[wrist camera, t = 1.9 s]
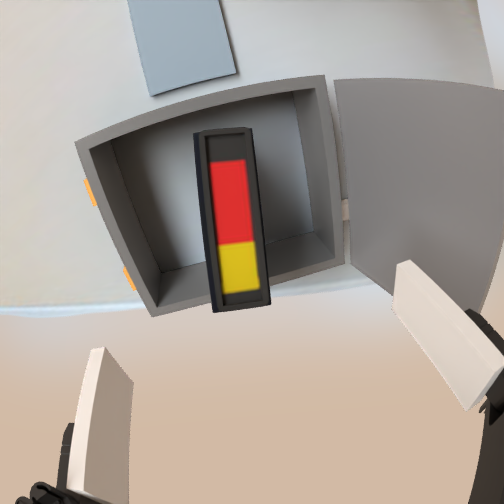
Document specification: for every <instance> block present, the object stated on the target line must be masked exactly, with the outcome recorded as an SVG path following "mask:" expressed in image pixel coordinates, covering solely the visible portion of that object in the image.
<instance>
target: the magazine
mask: <svg viewBox="0 0 504 504" xmlns="http://www.w3.org/2000/svg"><path fill="white" fill-rule="evenodd" d="M193 139H194V152H195V164H196V175H197V186H198V196H199V206H200V216H201V225H202V234H203V242H204V251H205V259H206V267H207V274H208V282H209V289H210V296H211V303H212V310H213V313H217V312H227V311H234V310H241V309H248V308H254V307H262V306H267V305H271V296H270V286H269V276H268V266H267V257H266V247H265V238H264V229H263V220H262V211H261V202H260V193H259V184H258V175H257V167H256V158H255V150H254V141H253V133H252V128H245V127H239V128H225V129H214V130H204V131H202V132H198V133H193Z"/></svg>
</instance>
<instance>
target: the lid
mask: <svg viewBox="0 0 504 504" xmlns="http://www.w3.org/2000/svg"><path fill="white" fill-rule="evenodd" d="M333 81H334V86H335V92H336V98H337V105H338V111H339V118H340V126H341V133H342V141H343V150H344V159H345V169H346V180H347V193H348V208H349V226H350V255H351V265H353V266H354V267H355V268H357V269H358V270H359V271H361V272H362V273H363V274H365V275H366V276H367V277H369V278H370V279H371V280H373V281H374V282H375V283H377V284H378V285H379V286H380V287H382V288H383V289H384V290H386V291H387V292H388V293H390V294H391V295H392V296H393V295H394V287H395V278H396V267H397V264H399V263H402V262H404V261H407V260H411V261H412V262H413V263H414V264H416V265H417V266H418V267H419V268H420V269H421V270H422V271H423V272H424V273H425V274H426V275H427V276H428V277H429V278H431V279H432V280H433V281H434V282H435V283H436V284H437V285H438V286H439V287H440V288H441V289H442V290H443V291H444V292H445V293H446V294H447V295H448V296H449V297H450V298H451V299H452V300H453V301H454V302H455V303H456V304H457V305H458V306H459V307H460V308H461V309H462V310H463V311H466V310H467V309H469V308H470V309H472V310H473V311H475V312H477V313H479V314H480V313H481V310H482V307H483V305H484V302H485V299H486V297H487V294H488V291H489V288H490V285H491V282H492V279H493V275H494V272H495V269H496V265H497V262H498V259H499V255H500V251H501V247H502V243H503V239H504V90H498V89H494V88H489V87H483V86H477V85H470V84H463V83H455V82H446V81H436V80H423V79H402V78H360V79H339V80H333Z"/></svg>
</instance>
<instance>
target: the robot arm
mask: <svg viewBox="0 0 504 504" xmlns="http://www.w3.org/2000/svg"><path fill="white" fill-rule="evenodd" d="M392 311H393V312H394V313H395V315H396V316H397V317H398V318H399V319H400V321H401V322H402V323H403V325H404V326H405V327H406V329H407V330H408V331H409V332H410V334H411V335H412V336H413V338H414V339H415V340H416V341H417V343H418V344H419V346H420V347H421V348H422V350H423V351H424V352H425V353H426V355H427V356H428V358H429V359H430V360H431V362H432V363H433V365H434V366H435V367H436V369H437V370H438V372H439V373H440V374H441V376H442V377H443V379H444V380H445V381H446V383H447V384H448V386H449V387H450V389H451V390H452V392H453V393H454V395H455V396H456V397H457V399H458V400H459V402H460V403H461V405H462V406H463V408H464V409H465V411H466V412H467V411H468V410H470V409H471V408H472V407H473V406H475V405H476V404H478V403H479V402H480V401H481V399H482V398H483V397H484V395H486V396H487V400H486V401H485V402H484V404H483V405H482V406H481V407H480V410H479V413H481V412H482V411H483V410H484V409H485V407H486V410H485V412H484V413H485V420H484V429H483V436H482V444H481V450H480V456H479V461H478V466H477V471H476V475H475V479H474V484H473V488H472V491H471V495H470V499H469V502H468V504H504V340H503V338H502V337H501V336H500V335H499V334H498V333H497V332H496V331H495V330H493V328H492V326H491V325H490V324H488V323H487V321H486V320H485V319H484V318H483V317H482V316H481V315H480V314H479V313H477V312H475V311H473V310H472V309H470V308H469V309H467V310H466V311H463V310H462V309H461V308H460V307H459V306H458V305H457V304H456V303H455V302H454V301H453V300H452V299H451V298H450V297H449V296H448V295H447V294H446V293H445V292H444V291H443V290H442V289H441V288H440V287H439V286H438V285H437V284H436V283H435V282H434V281H433V280H432V279H431V278H429V277H428V276H427V275H426V274H425V273H424V272H423V271H422V270H421V269H420V268H419V267H418V266H417V265H416V264H414V263H413V262H412V261H411V260H407V261H404V262H402V263H399V264H397V267H396V278H395V287H394V295H393V303H392ZM132 395H133V382H132V380H131V379H130V378H129V377H128V375H127V374H126V373H125V372H124V371H123V369H122V368H121V367H120V366H119V364H118V363H117V362H116V361H115V359H114V358H113V357H112V355H111V354H110V353H109V352H108V350H107V349H106V347H100V348H95V349H91V352H90V356H89V360H88V364H87V368H86V372H85V376H84V380H83V384H82V389H81V393H80V398H79V403H78V408H77V413H76V418H75V423H69V424H68V426H67V428H66V430H65V432H64V435H63V441H62V445H63V446H62V447H61V455H60V462H59V469H58V478H57V486H56V488H54V487H52V486H50V485H48V484H47V483H44V482H37V483H35V484H34V485H33V486H32V488H31V491H30V499H28V498H26V497H19V498H18V499H17V500H16V502H15V504H129V439H130V421H131V406H132Z"/></svg>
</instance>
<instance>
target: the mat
mask: <svg viewBox="0 0 504 504" xmlns="http://www.w3.org/2000/svg"><path fill="white" fill-rule="evenodd" d="M127 1H128V6H129V11H130V16H131V20H132V25H133V29H134V34H135V38H136V43H137V47H138V51H139V55H140V59H141V64H142V68H143V72H144V75H145V79H146V83H147V87H148V91H149V95H150V96H153V95H156V94H159V93H162V92H166V91H169V90H172V89H175V88H179V87H182V86H186V85H189V84H193V83H197V82H201V81H205V80H209V79H213V78H217V77H222V76H226V75H231V74H235V73H236V70H235V66H234V62H233V58H232V53H231V49H230V45H229V41H228V37H227V33H226V29H225V25H224V21H223V17H222V13H221V9H220V5H219V1H218V0H127Z"/></svg>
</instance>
